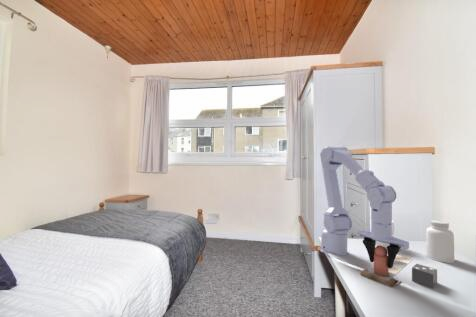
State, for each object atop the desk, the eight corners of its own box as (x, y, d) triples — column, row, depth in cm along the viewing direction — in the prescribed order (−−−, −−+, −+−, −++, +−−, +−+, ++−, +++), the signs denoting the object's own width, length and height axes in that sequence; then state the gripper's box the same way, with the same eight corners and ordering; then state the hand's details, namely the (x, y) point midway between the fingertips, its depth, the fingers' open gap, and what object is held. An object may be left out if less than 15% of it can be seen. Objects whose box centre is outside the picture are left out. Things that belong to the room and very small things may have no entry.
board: (360, 275, 73) (360, 271, 73) (391, 254, 90) (391, 251, 90) (392, 287, 66) (392, 283, 66) (418, 262, 83) (418, 259, 83)
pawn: (372, 272, 72) (371, 245, 72) (376, 269, 75) (376, 242, 75) (385, 278, 69) (385, 249, 69) (390, 273, 72) (390, 246, 72)
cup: (386, 243, 103) (387, 217, 103) (399, 251, 94) (399, 223, 94) (366, 242, 104) (366, 217, 104) (376, 250, 95) (376, 222, 95)
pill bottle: (425, 254, 90) (425, 218, 91) (453, 260, 85) (452, 221, 86) (426, 261, 84) (426, 222, 85) (455, 267, 79) (455, 226, 80)
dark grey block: (411, 284, 68) (411, 267, 68) (416, 279, 71) (416, 263, 71) (433, 291, 64) (433, 274, 64) (437, 286, 67) (437, 269, 67)
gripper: (412, 225, 69) (412, 269, 69) (363, 216, 81) (363, 253, 80) (405, 229, 65) (405, 276, 65) (354, 219, 76) (354, 258, 76)
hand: (381, 264), depth 72 cm, fingers open, 5 cm apart
